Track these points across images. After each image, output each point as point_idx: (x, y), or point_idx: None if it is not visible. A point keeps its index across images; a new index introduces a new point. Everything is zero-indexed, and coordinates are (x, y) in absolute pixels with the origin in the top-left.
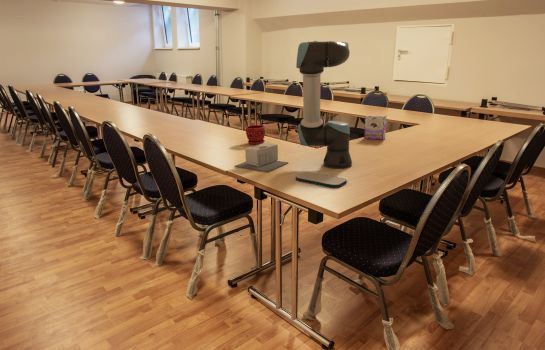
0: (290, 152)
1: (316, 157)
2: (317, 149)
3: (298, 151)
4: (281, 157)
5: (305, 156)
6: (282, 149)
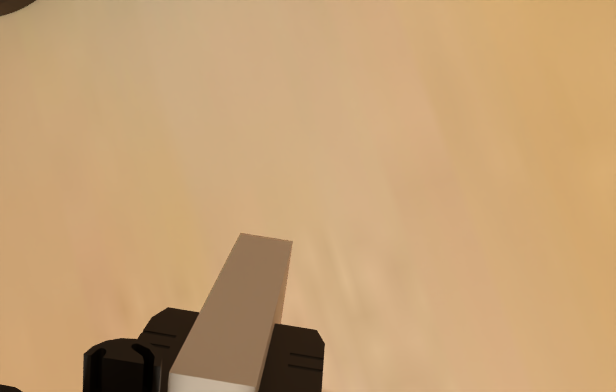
0: (436, 184)
1: (185, 85)
2: None
3: (384, 237)
4: (450, 5)
5: (277, 91)
6: (539, 269)
